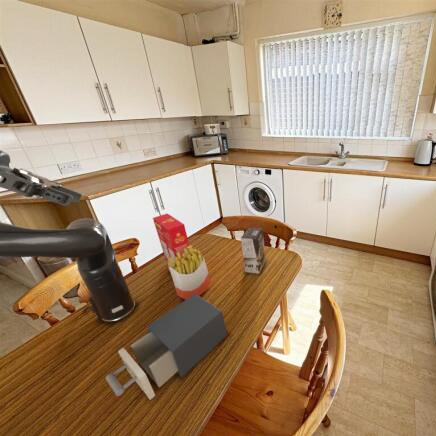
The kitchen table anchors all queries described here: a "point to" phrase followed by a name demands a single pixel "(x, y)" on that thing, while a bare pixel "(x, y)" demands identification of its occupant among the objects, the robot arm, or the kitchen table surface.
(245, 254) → the coffee box
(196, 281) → the french fries container
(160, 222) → the food packaging
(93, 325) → the kitchen table surface
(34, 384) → the kitchen table surface
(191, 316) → the cabinet
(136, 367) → the drawer
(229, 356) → the kitchen table surface
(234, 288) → the kitchen table surface
